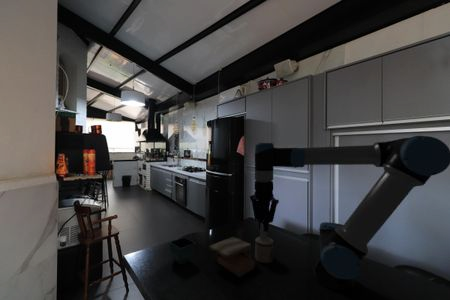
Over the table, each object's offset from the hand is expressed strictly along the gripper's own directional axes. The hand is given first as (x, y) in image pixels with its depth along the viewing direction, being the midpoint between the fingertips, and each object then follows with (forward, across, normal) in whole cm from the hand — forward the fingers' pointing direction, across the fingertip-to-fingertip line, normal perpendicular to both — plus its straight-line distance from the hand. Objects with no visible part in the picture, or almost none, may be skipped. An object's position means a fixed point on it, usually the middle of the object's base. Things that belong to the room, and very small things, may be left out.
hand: (263, 238), depth 86 cm
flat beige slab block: (+17, +19, 0) cm, 25 cm away
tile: (+18, +15, 0) cm, 23 cm away
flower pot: (+17, +34, +16) cm, 42 cm away
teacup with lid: (+18, +11, -16) cm, 26 cm away
